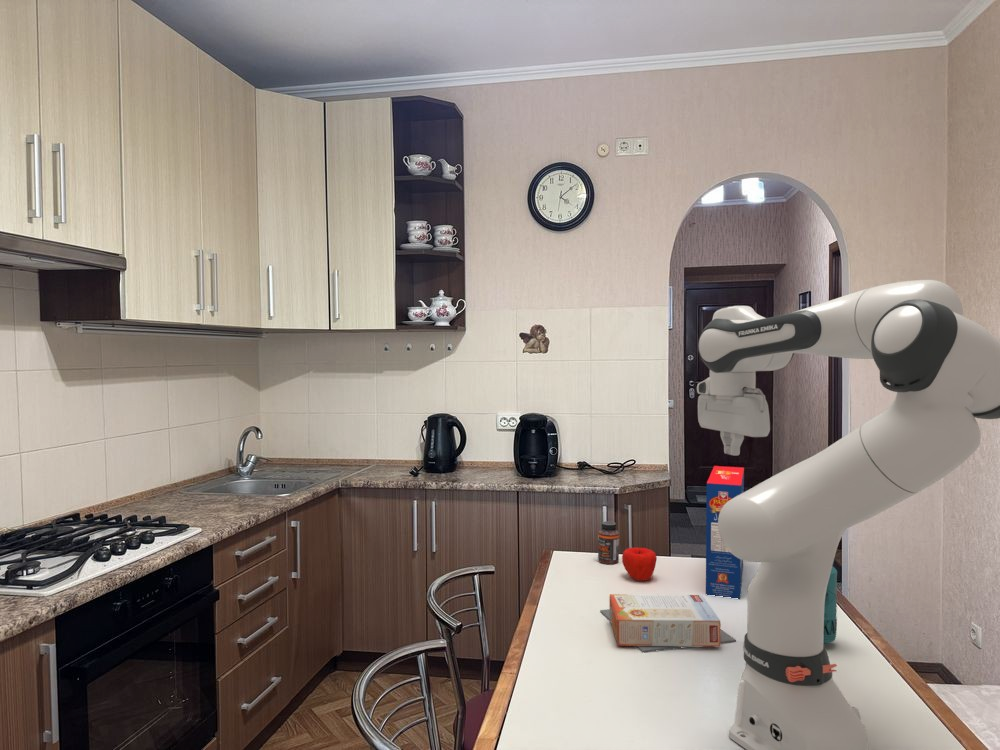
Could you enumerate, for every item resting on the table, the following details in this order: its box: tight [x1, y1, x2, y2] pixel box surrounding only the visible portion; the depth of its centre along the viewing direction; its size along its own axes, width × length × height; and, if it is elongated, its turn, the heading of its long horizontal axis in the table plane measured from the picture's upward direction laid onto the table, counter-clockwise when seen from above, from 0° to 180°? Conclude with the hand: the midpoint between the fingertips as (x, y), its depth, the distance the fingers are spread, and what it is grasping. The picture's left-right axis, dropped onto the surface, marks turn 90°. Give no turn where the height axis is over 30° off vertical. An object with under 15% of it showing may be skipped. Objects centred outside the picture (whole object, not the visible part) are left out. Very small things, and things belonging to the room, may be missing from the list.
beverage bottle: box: [823, 565, 838, 644], centre depth 136 cm, size 6×7×20 cm
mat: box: [600, 608, 737, 653], centre depth 146 cm, size 22×21×1 cm
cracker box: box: [608, 593, 722, 648], centre depth 141 cm, size 14×6×21 cm
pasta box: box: [705, 465, 745, 600], centre depth 176 cm, size 28×8×28 cm, turn 158°
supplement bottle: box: [597, 520, 620, 565], centre depth 192 cm, size 6×6×11 cm
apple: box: [621, 547, 658, 582], centre depth 177 cm, size 9×9×8 cm
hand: (731, 454), depth 135 cm, fingers closed
